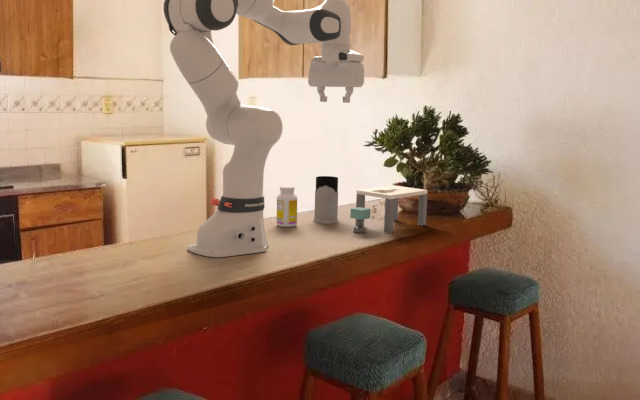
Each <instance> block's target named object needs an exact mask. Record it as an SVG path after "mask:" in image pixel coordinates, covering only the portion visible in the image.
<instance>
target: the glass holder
mask: <svg viewBox="0 0 640 400" xmlns="http://www.w3.org/2000/svg"><path fill="white" fill-rule="evenodd" d="M338 188H339V177H337V176H333V175H331V176H329V175H328V176H325V175H324V176H323V175H321V176H316V177H315V190H314V217H313V220H312V222H314V223H317V224H326V225H327V224H332V225H333V224H337V223H339V219H338V212H339V211H338V210H339V209H338V208H339V207H338V206H339V191H338V190H339V189H338Z"/></svg>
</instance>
